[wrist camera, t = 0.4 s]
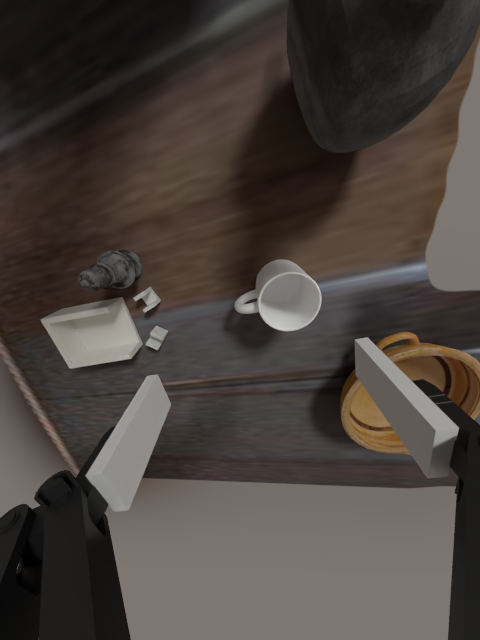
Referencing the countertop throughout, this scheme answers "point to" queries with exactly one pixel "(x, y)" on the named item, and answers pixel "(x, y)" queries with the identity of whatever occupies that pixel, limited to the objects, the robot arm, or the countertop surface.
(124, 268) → the grey tapered rounded piece
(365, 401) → the ceramic bowl
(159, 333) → the clip
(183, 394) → the countertop surface
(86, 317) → the end holder
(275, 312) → the mug
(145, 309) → the clip
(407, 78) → the pitcher
